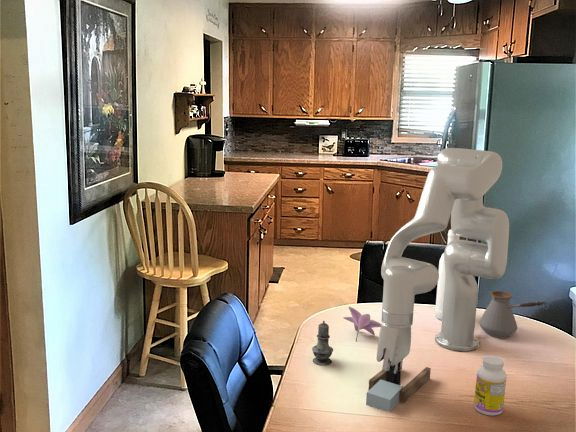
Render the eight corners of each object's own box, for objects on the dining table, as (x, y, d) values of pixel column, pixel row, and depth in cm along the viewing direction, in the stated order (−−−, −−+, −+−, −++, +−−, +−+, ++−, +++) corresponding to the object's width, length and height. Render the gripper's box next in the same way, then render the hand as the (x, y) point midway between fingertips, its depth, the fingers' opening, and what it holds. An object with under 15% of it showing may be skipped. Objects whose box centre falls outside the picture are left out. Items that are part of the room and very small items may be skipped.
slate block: (379, 392, 151) (380, 379, 150) (402, 399, 148) (403, 386, 147) (365, 405, 144) (366, 392, 144) (389, 413, 141) (390, 399, 141)
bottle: (457, 323, 196) (466, 234, 190) (433, 319, 199) (440, 231, 193) (460, 315, 204) (467, 229, 197) (436, 311, 206) (443, 226, 200)
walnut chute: (396, 368, 164) (397, 358, 163) (429, 378, 158) (430, 368, 158) (368, 391, 151) (369, 380, 150) (403, 403, 145) (404, 391, 145)
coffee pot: (470, 330, 191) (474, 285, 188) (493, 323, 197) (498, 279, 194) (529, 355, 174) (535, 306, 171) (553, 347, 180) (559, 299, 177)
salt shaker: (331, 367, 163) (333, 325, 161) (310, 364, 165) (311, 323, 162) (334, 357, 169) (335, 317, 167) (313, 355, 170) (314, 315, 168)
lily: (386, 347, 179) (391, 315, 182) (357, 339, 173) (362, 306, 176) (359, 345, 189) (364, 315, 192) (331, 337, 183) (336, 306, 186)
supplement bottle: (469, 402, 147) (474, 353, 144) (495, 402, 147) (500, 353, 145) (480, 417, 140) (485, 366, 137) (507, 416, 141) (513, 365, 138)
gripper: (396, 304, 155) (392, 370, 159) (369, 321, 143) (365, 392, 147) (424, 311, 151) (418, 378, 155) (397, 329, 139) (393, 402, 143)
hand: (392, 385), depth 151 cm, fingers closed
